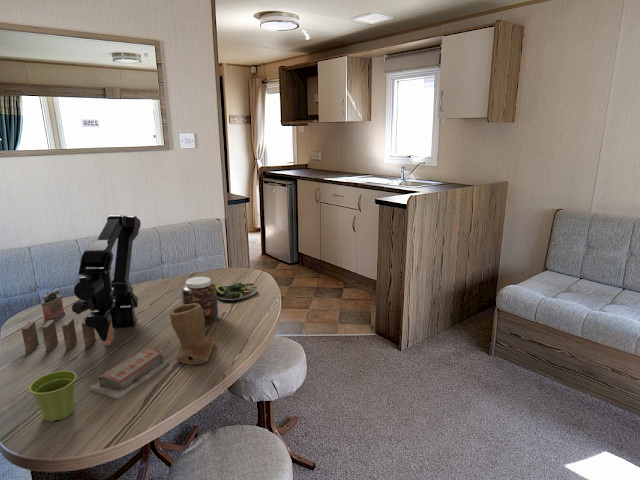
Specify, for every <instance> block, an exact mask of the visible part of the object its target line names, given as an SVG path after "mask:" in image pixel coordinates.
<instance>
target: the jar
mask: <svg viewBox="0 0 640 480" xmlns="http://www.w3.org/2000/svg"><path fill="white" fill-rule="evenodd" d="M215 285H216V284H215V283H214V282H212V281H211V278H210V277H208V276H195V277H190V278H188V279H186V280H185V284H184V285H183V286H182V288H181V301H182V305H185V304H192V303H196V304H199V305H200V306H201V307H202V309H203V313H204V318H205V325H204V327H208V326H211V325H213V324H216V323H217V322H218V320H219V304H218V303H219V302H218V300H217V291H216V286H215ZM215 322H216V323H215Z"/></svg>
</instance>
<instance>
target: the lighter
mask: <svg viewBox="0 0 640 480" xmlns="http://www.w3.org/2000/svg"><path fill="white" fill-rule="evenodd" d="M42 298H43V300H42V301H41V302H40V305H41V308H42V314H43V318H44V319H43V322H44V324H46V323H47V322H48V321H49V320H54V321H55V322H56V321H58V320H59V319H61V318H63V317H64V316H65V315H66V313H65V310H64V309H65V308H64V303H63V295H62V294H61V295H60V291H59V289H55V290H53V291H51V292H47V293H46V294H45V295H43V297H42Z"/></svg>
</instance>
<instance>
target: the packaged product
mask: <svg viewBox="0 0 640 480" xmlns="http://www.w3.org/2000/svg"><path fill="white" fill-rule="evenodd" d="M163 359H164V357H163V355H162V353H161V352H160V351H159V350H156V349H152V348H148V347H144V348H143V349H142V350H140V351H138V352H136V353H135V354H133V355H132V356H130V357H128V358H126V359H124V360H122V362H120V363H118V364H117V365H115V366H113V367H111V368H110V369H109V370H107V371H105V372H103V373H102V374H101V375H99V377H98V381H97V382H95V383H94V384H92V385H90V386H89V388H90V390H91V392H95V393H98V394H101V395H104V396H106V397H110V398H112V399H116V400H120V399H121V398H123V397H124V396H125V395H127V394H128V393H129V392H131V391H132V390H134V389H135V388H136V387H138V386H140V385H142V384H143V383H144V382H146V381H147V380H149V379H150V378H152V377H153V376H154V375H156V374H157V373H158V372H159V371H161V370H162V369H164V368H165V366H166V367H167V366H168V365H169V364H170V362H169V361H165V360H163ZM151 376H152V377H151ZM145 380H146V381H145Z"/></svg>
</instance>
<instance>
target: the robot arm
mask: <svg viewBox="0 0 640 480" xmlns="http://www.w3.org/2000/svg"><path fill="white" fill-rule="evenodd" d="M141 227H142V226H141V220H140V219H139V218H138V216H136V215H123V214H110V215H108V216H107V218H106V223H105V224H104V227H103V229H102V230H101V232H100V233H99V235H98V237H97V240H96V241H95V242H93V243H91V244H89V245H88V246H87V248H86V249H85V250H84V252H83V253H82V255H81V260H80V263H79V270H78V275H79V276H80V277H79V282H77V283H76V284H75V286H74V287H73V288H74V289H73V293H74V296H75V297H76V298H77V299H78V300H76V301H74V302H73V303H72V305H71V309H72V310H71V312H73V313H74V314H76V315H80V314H81V313H83V312H86V311H88V310H90V313H89V314H88V315H87V316H86V318H84V320H85V326H88V327H93V328H94V331H95V332H97V335H98V336H99V339H100V340H101V341H102V342H104V341H106V339H107V335H108V331H109V327H110V323H111V320H112V327H113V329H116V328H125V327H134V326H135V324H136V322H137V320H138V318H137V317H136V310H135V308H138V307H139V306H138V305H139V298H138V297H137V295H136V294H135V293H134V288H133V286H132V284H131V282H130V271H131V261H132V252H133V251H132V250H133V242H134V240H135V239H136V238H137V236H138V235H139V231H140V228H141ZM116 241H117V245H116V254H115V261H114V262H115V264H114V270H113V269H112V263H113V260H114V254H113V251H112V250H113V248H114V245H115V244H116ZM112 270H113V271H114V272H113V280H112V278H111V271H112ZM110 319H111V320H110Z"/></svg>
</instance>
